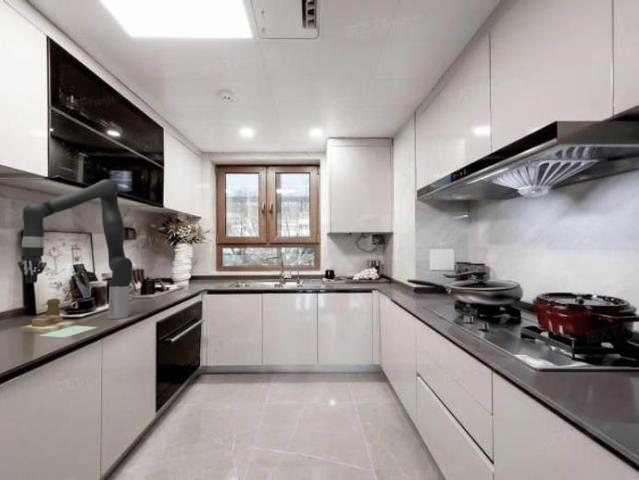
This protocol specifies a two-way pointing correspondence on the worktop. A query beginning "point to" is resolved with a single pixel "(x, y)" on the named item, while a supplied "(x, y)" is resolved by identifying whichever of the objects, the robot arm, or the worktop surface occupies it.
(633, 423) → the worktop surface
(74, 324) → the birch deck
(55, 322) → the walnut tile
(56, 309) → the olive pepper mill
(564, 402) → the worktop surface
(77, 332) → the sage mat
